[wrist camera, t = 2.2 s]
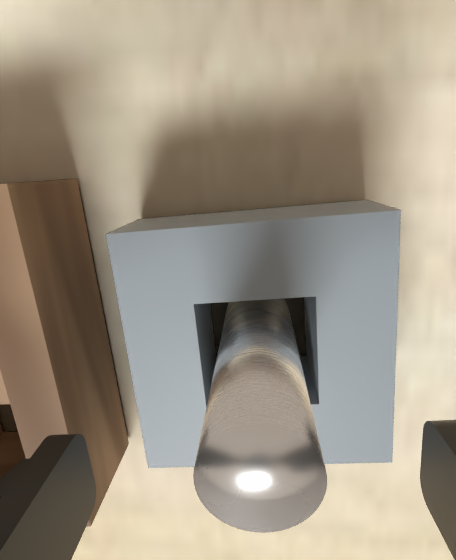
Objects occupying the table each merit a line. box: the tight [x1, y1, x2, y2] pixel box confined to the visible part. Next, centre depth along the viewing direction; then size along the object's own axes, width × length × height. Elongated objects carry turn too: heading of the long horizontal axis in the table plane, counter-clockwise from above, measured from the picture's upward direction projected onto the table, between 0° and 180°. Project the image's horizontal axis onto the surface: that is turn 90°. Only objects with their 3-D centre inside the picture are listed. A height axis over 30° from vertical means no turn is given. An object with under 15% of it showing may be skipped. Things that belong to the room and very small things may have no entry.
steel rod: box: [193, 299, 327, 532], centre depth 13 cm, size 3×3×10 cm
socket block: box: [106, 200, 401, 468], centre depth 16 cm, size 10×10×4 cm
